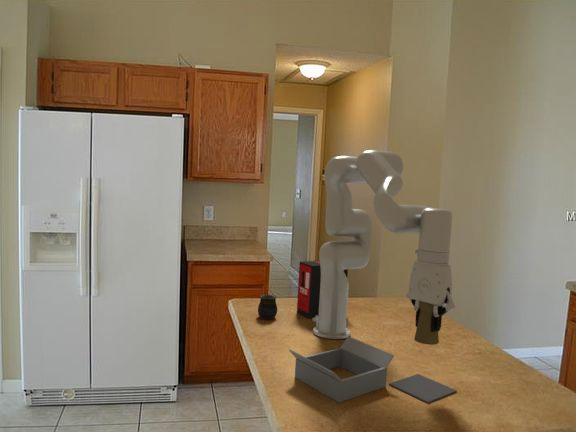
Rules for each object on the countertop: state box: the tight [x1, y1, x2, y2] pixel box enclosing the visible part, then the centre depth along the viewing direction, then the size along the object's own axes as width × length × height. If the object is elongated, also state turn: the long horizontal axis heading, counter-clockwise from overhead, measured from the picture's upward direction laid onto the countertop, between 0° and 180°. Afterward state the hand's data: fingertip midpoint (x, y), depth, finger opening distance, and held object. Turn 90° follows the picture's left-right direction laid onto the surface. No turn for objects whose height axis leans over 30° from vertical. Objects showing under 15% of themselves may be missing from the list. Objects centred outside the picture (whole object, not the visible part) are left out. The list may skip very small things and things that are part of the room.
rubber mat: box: [388, 373, 458, 404], centre depth 125 cm, size 12×12×1 cm
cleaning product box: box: [296, 260, 349, 320], centre depth 188 cm, size 16×9×20 cm, turn 120°
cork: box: [413, 301, 440, 346], centre depth 123 cm, size 6×6×11 cm
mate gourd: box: [257, 293, 278, 320], centre depth 179 cm, size 7×8×10 cm
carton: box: [288, 336, 395, 403], centre depth 126 cm, size 17×22×8 cm
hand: (427, 327), depth 123 cm, fingers closed on cork, 3 cm apart
